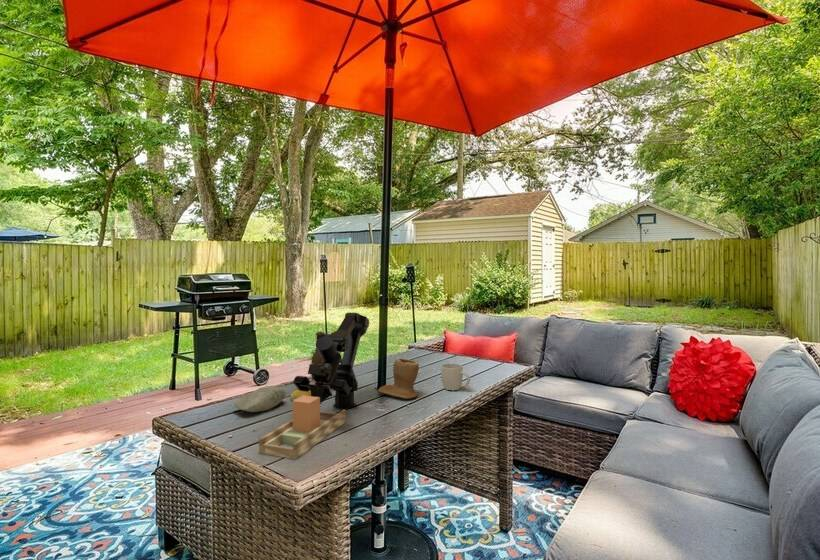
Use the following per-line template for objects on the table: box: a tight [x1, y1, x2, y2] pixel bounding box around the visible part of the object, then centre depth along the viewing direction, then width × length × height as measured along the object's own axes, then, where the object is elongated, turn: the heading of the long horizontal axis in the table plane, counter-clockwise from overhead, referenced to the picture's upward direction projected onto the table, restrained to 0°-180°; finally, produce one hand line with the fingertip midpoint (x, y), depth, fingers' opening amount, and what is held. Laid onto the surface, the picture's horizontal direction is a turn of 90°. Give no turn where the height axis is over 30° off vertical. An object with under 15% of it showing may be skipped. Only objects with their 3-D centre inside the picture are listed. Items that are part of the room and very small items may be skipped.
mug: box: [440, 363, 471, 392], centre depth 185 cm, size 13×9×10 cm
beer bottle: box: [310, 331, 325, 380], centre depth 188 cm, size 8×8×24 cm
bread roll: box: [290, 389, 311, 401], centre depth 173 cm, size 8×9×4 cm
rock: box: [233, 385, 287, 413], centre depth 161 cm, size 8×11×20 cm
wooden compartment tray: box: [258, 409, 347, 460], centre depth 135 cm, size 30×12×4 cm, turn 162°
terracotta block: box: [291, 395, 321, 432], centre depth 135 cm, size 6×6×9 cm
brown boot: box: [378, 357, 420, 399], centre depth 177 cm, size 15×12×15 cm
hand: (312, 409), depth 138 cm, fingers closed, pressing on terracotta block
